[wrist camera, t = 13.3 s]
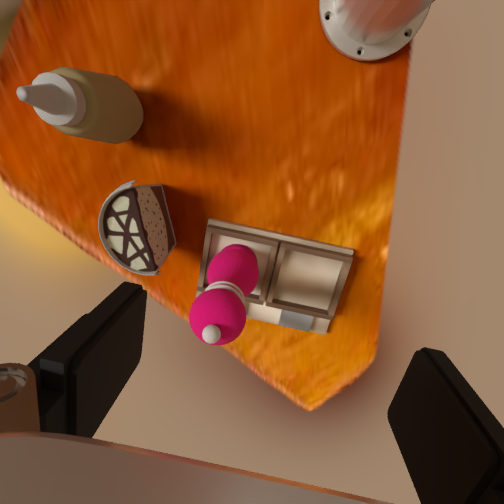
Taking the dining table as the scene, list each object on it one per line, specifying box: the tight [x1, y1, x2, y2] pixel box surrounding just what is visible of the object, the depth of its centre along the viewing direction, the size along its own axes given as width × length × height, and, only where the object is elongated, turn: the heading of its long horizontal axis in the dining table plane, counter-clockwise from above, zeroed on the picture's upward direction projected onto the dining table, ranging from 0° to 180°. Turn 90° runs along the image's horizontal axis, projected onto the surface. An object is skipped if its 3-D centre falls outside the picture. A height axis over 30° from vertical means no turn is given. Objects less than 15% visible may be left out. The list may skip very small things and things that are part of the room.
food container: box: [98, 180, 177, 275], centre depth 43 cm, size 12×6×10 cm, turn 9°
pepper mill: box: [189, 244, 259, 345], centre depth 38 cm, size 7×7×20 cm
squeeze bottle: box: [17, 67, 144, 144], centre depth 34 cm, size 8×8×18 cm
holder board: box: [196, 218, 354, 335], centre depth 48 cm, size 15×22×2 cm
